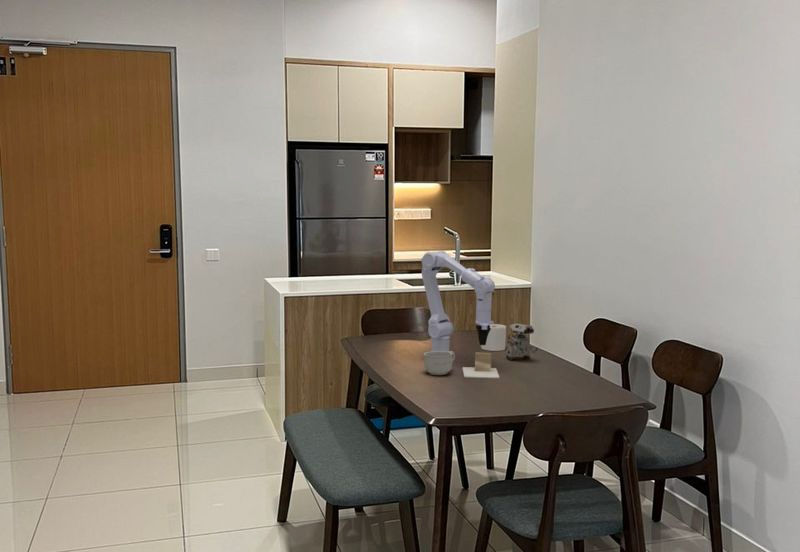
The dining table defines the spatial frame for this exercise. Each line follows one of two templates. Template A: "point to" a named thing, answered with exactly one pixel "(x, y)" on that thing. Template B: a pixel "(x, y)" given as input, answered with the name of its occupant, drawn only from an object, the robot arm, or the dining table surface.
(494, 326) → the toilet tissue
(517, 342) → the figurine
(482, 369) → the wooden block
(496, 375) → the mat
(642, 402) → the dining table surface
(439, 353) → the teacup
